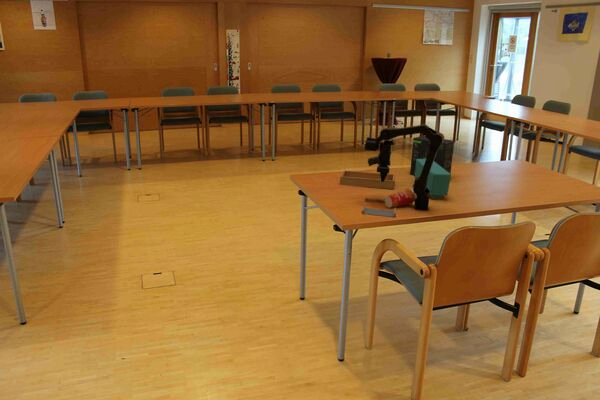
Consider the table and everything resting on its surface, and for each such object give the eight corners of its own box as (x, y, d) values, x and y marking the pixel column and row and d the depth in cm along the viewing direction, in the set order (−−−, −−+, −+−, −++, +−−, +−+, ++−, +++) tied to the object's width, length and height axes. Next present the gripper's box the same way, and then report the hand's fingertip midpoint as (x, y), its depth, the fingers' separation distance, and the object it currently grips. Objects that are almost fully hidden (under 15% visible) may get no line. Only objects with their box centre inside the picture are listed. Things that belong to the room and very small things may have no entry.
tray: (339, 185, 301) (340, 175, 299) (343, 178, 315) (343, 169, 313) (393, 190, 295) (394, 180, 293) (394, 183, 309) (395, 174, 307)
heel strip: (395, 203, 271) (396, 200, 270) (395, 204, 269) (396, 201, 269) (365, 200, 273) (365, 197, 273) (365, 201, 272) (365, 198, 272)
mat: (395, 211, 259) (396, 208, 258) (395, 217, 250) (396, 213, 250) (363, 208, 261) (363, 204, 261) (361, 214, 253) (361, 210, 252)
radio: (449, 200, 279) (453, 174, 274) (430, 200, 278) (433, 173, 274) (430, 183, 311) (433, 158, 307) (413, 182, 310) (415, 158, 306)
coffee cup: (383, 191, 264) (406, 185, 271) (383, 206, 268) (405, 200, 275) (394, 197, 258) (417, 191, 265) (393, 212, 261) (416, 205, 268)
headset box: (408, 174, 328) (413, 134, 320) (418, 171, 337) (422, 132, 329) (441, 182, 314) (447, 140, 306) (450, 178, 323) (455, 137, 315)
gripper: (370, 147, 274) (368, 175, 279) (367, 155, 257) (365, 185, 262) (391, 149, 272) (389, 177, 277) (390, 157, 255) (387, 187, 260)
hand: (382, 181), depth 269 cm, fingers closed
